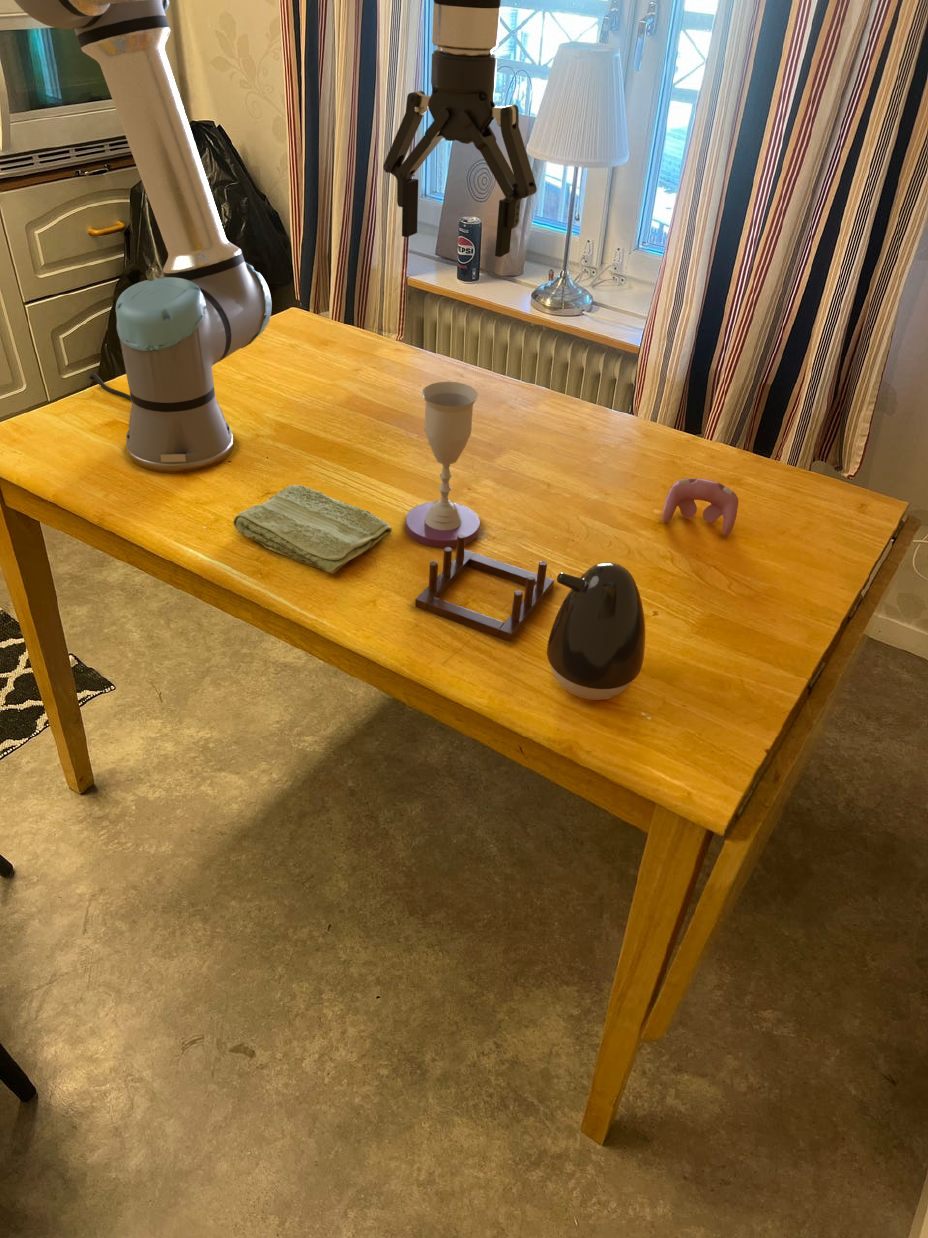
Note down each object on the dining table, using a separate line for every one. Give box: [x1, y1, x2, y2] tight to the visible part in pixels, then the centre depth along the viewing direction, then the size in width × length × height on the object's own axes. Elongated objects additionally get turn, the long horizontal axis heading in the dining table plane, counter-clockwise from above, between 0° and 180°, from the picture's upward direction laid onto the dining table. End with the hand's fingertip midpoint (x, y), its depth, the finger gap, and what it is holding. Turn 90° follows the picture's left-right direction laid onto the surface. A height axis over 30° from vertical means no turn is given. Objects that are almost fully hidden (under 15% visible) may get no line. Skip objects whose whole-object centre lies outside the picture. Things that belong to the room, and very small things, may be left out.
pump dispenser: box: [546, 562, 646, 701], centre depth 92 cm, size 10×10×15 cm
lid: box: [405, 500, 481, 549], centre depth 120 cm, size 10×10×1 cm
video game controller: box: [662, 477, 739, 537], centre depth 124 cm, size 10×5×7 cm, turn 71°
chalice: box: [421, 381, 479, 530], centre depth 114 cm, size 7×7×18 cm
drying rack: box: [414, 534, 555, 643], centre depth 107 cm, size 13×13×5 cm
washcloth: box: [232, 484, 393, 575], centre depth 115 cm, size 13×18×3 cm
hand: (454, 244), depth 115 cm, fingers open, 13 cm apart
